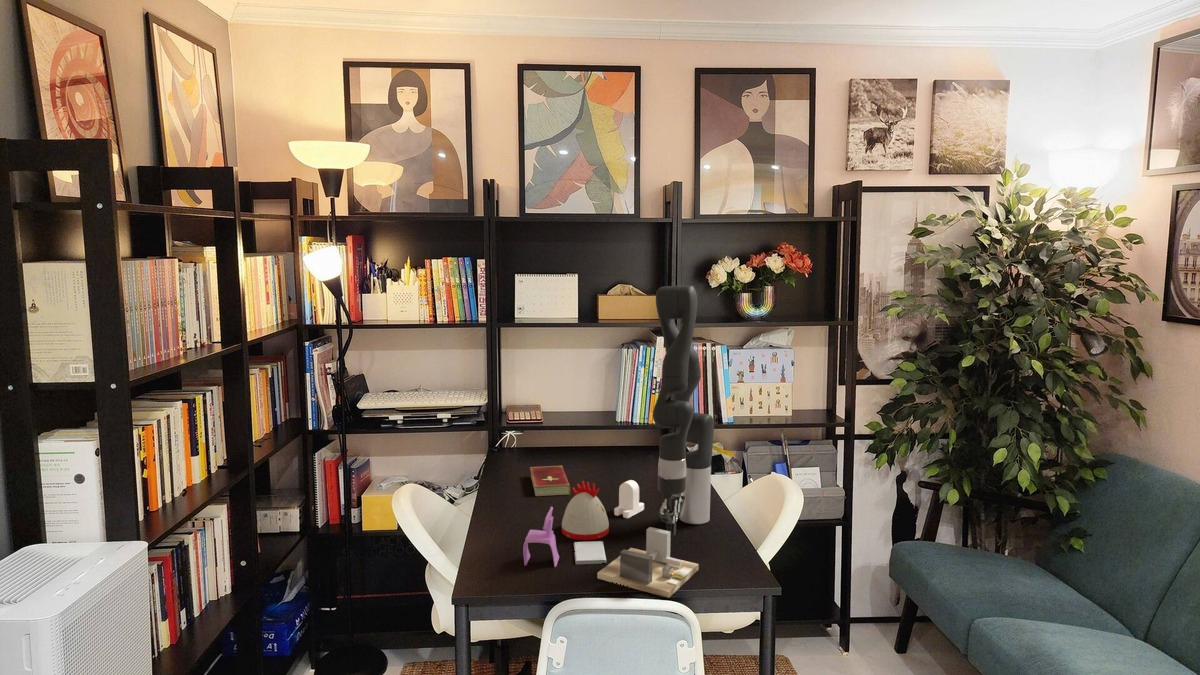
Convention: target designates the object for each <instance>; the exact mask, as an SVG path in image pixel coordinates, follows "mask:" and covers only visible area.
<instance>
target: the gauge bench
mask: <svg viewBox="0 0 1200 675" xmlns="http://www.w3.org/2000/svg"><path fill="white" fill-rule="evenodd" d="M670 558H672V557H671V556H670ZM673 558H674V557H673ZM652 559H653V556H649V555H646V550H641V549H638V548H633V547H630V548H629V549H622V550H620V552H619V556H618V557H617V558H615V559H614V560H612V561H611V562H610V563H609V564H607V565H605V567H603V568H602V569H601V570H599V571H598V572H597V579H598V580H602V581H606V582H608V583H612V582H613V584H616V583H617V584H616V585H620V584H621V585H620V586H623V585H624V586H623V587H627V586H628V587H627V588H632V589H634V590H638V591H642V592H646V593H650V594H652V595H657V596H660V597H663V598H668V599H669V598H670V597H671V596H673V594H675V593H676V592H677V591H678V590H679V589H680V588H681V587H682V586H683V585H684V584H685V583H686V582H687V581H688V580H689V579H690V578H692V576H694V574H696V572H698V571H699V568H700V567H699V566H700V565H699V563H696V562H692V561H687V560H682V559H681V560H682V565H681V566H677V565H673V564H669V563H667V564H666V563H662V562H658V561H654V560H652ZM674 559H676V558H674ZM677 559H678V558H677ZM678 560H680V559H678ZM665 566H669V567H673V574H677V575H681V576H683V578H679V577H675V576H671V577H670V578H667V577H663V576H662V569H663V568H664V567H665Z"/></svg>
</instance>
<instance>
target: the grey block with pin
mask: <svg viewBox="0 0 1200 675" xmlns="http://www.w3.org/2000/svg"><path fill="white" fill-rule="evenodd" d="M662 576H663V577H667V578H670V577H671V576H675V577H679V578H683V576H681V575H677V574H673V567H669V566H665V567H664V568H663V569H662Z"/></svg>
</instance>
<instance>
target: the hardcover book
mask: <svg viewBox="0 0 1200 675" xmlns="http://www.w3.org/2000/svg"><path fill="white" fill-rule="evenodd" d="M529 470H530V479H531V481H532V482H531V483H532V486H533V491H534V496H535V497H543V496H544V497H545V496H546V497H547V496H564V495H566V496H570V495H571V485H570V483H569V480H568V477H567V474H566V473H565V470H564V467H563V465H550V466H549V465H547V466H530V467H529Z"/></svg>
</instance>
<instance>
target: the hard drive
mask: <svg viewBox="0 0 1200 675" xmlns="http://www.w3.org/2000/svg"><path fill="white" fill-rule="evenodd" d="M573 548H574V551H575V552H574V560H575V565H603V564H602V563H606V564H607V557H606V552H605V551H606V550H605V546H604V541H601V540H600V541H599V540H598V541H594V540H593V541H577V542H576V541H575V542H573Z"/></svg>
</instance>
